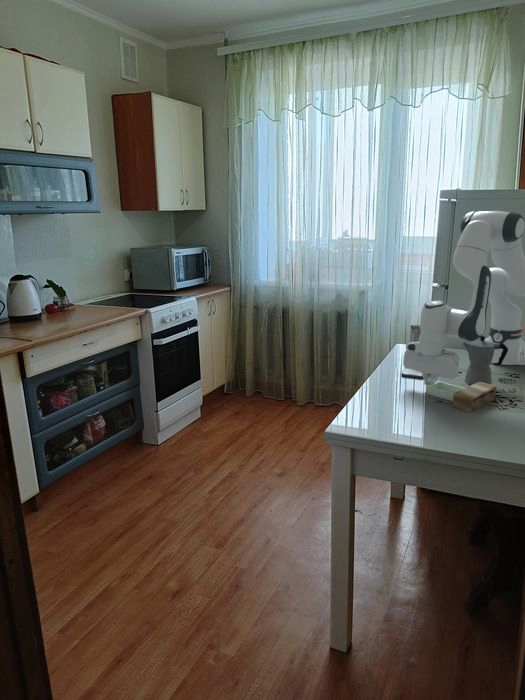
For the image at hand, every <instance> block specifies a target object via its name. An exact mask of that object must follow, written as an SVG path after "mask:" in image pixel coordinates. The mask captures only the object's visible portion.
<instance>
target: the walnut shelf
mask: <svg viewBox="0 0 525 700" xmlns="http://www.w3.org/2000/svg"><path fill="white" fill-rule="evenodd" d="M496 390H497V385H494V384H487V383H483V382H477V383H475V384H473V385H469V386H467V387H464V389H462V390H460V391H458V392H456V393H454V396H453V402H452V408H454V409H458V410H462V411H465V412H468V413H472V412H473V411H475V410H477V409H479V408H481V407H482V406H485V405H486V404H488V403H490V402H492V401H494V400H495V399H496Z"/></svg>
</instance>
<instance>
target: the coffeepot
mask: <svg viewBox="0 0 525 700" xmlns="http://www.w3.org/2000/svg"><path fill="white" fill-rule="evenodd" d="M479 339H480V340H474V341H466V342H463V343H462V345H463V346H464V348H465V350H466V352H467V354H468V360H469V363H470V364H469V365H468V368H467V371H466V375H465V378H464V382H465V383H466V384H467V385H469V386H471V385H473V384H475V383H477V382H483V383H487V384H491V385H493V384H492V383H493V382H492V371H491V369H492V368H491V367H490V366H491V364H492V363H491V361H492V358H493V354H494V351H495V349H503V351H502V353H501V356H500V358H499V362H498V363H493V364H494V366H498V367H499V366H501V364H502V362H503V360H504V358H505V356H506V354H507V352H508V348H507V347H506V346H505V344H498V343H492V342H487V341H485V340H486V336H484V335H482V336H481V337H480V338H479Z"/></svg>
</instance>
